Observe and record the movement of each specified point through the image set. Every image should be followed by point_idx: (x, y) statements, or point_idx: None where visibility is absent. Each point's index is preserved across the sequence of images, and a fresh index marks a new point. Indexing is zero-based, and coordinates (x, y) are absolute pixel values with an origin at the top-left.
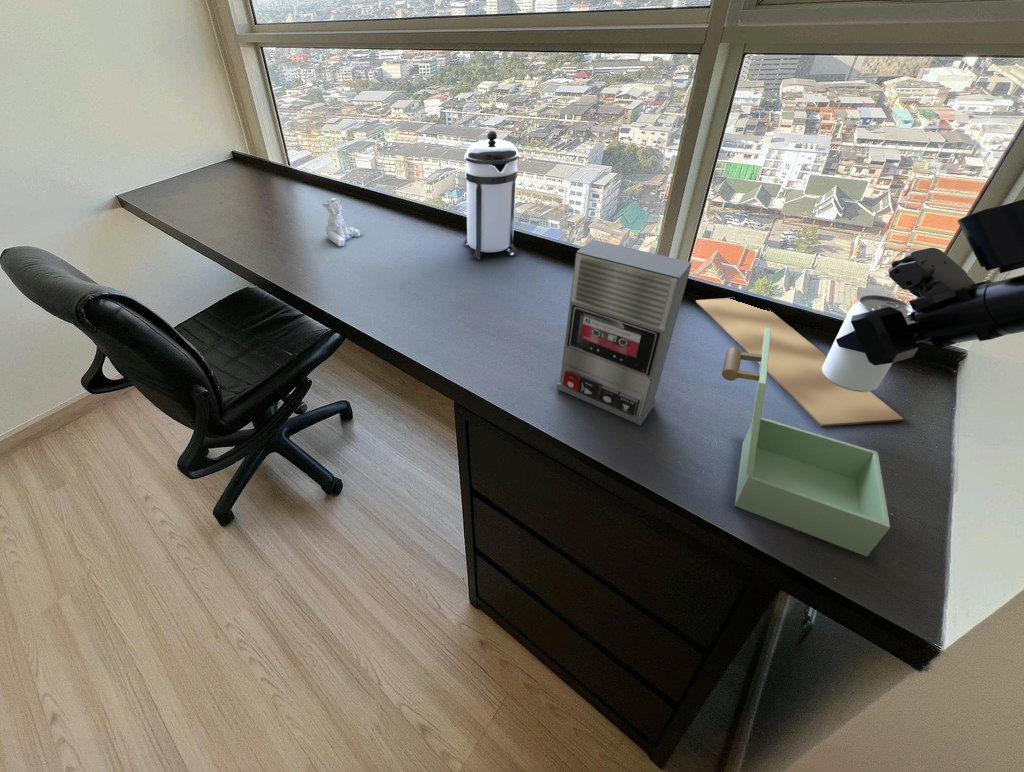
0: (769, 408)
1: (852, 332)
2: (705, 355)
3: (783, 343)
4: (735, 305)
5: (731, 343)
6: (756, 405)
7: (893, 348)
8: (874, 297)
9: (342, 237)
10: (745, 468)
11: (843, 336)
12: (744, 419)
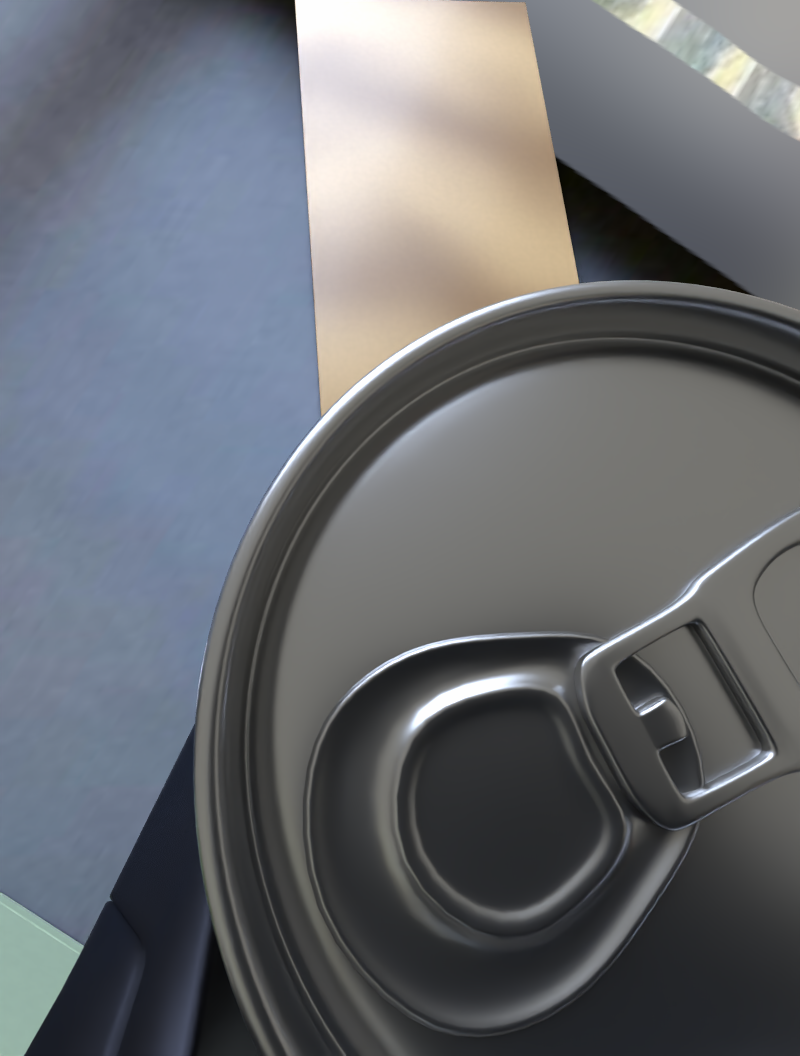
0: (204, 642)
1: (120, 888)
2: (140, 316)
3: (477, 274)
4: (428, 44)
5: (288, 254)
6: None
7: None
8: (696, 329)
9: None
10: None
11: (184, 749)
12: (59, 709)
